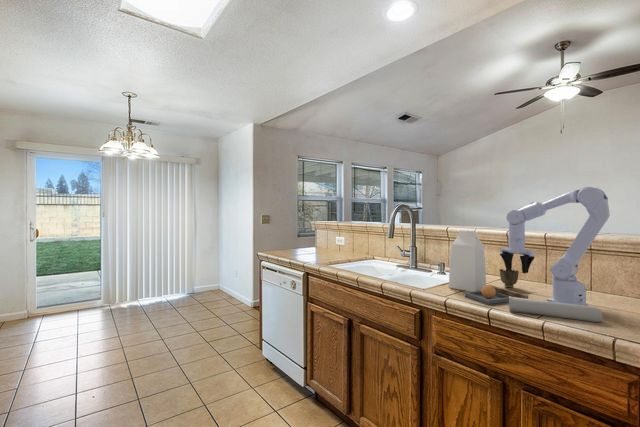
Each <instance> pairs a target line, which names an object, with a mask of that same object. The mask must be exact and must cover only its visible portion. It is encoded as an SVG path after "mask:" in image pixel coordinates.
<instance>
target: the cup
mask: <svg viewBox="0 0 640 427" xmlns="http://www.w3.org/2000/svg"><path fill="white" fill-rule="evenodd" d="M519 272H520V271H519V270H517V269H511V270H506V269H505V270H504V268H500V269H499V275H500V276H499V277H500V281H501V283H502V284H504V287H505V289H513V288H514V287H515V285H516V284H517V282H518V279H519Z"/></svg>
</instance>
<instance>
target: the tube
mask: <svg viewBox="0 0 640 427" xmlns="http://www.w3.org/2000/svg"><path fill="white" fill-rule="evenodd" d="M508 311H509V312H515V313H522V314H528V315H529V314H530V315H537V316H546V317H553V318H563V319H569V320H576V321H584V322H585V321H586V322H592V323H600V322H602V320H603V313H602V310H601V308H598V307H596V306H594V305H593V306H592V305H576V304H567V303H559V302H553V301H549V300H539V299H530V298H528V299H524V298H516V297H511V296H509V303H508Z"/></svg>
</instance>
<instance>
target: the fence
mask: <svg viewBox="0 0 640 427" xmlns="http://www.w3.org/2000/svg"><path fill="white" fill-rule="evenodd" d="M489 285H490V286H492V287H494V289H495V290H496V292H497V293H500V294H504V295H507V296H511V297H516V298H524V299H529V295H527V294H524V293H520V292H517V291H513V290H509V289H507V288H502V287H498V286H494V285H491V284H489Z"/></svg>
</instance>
